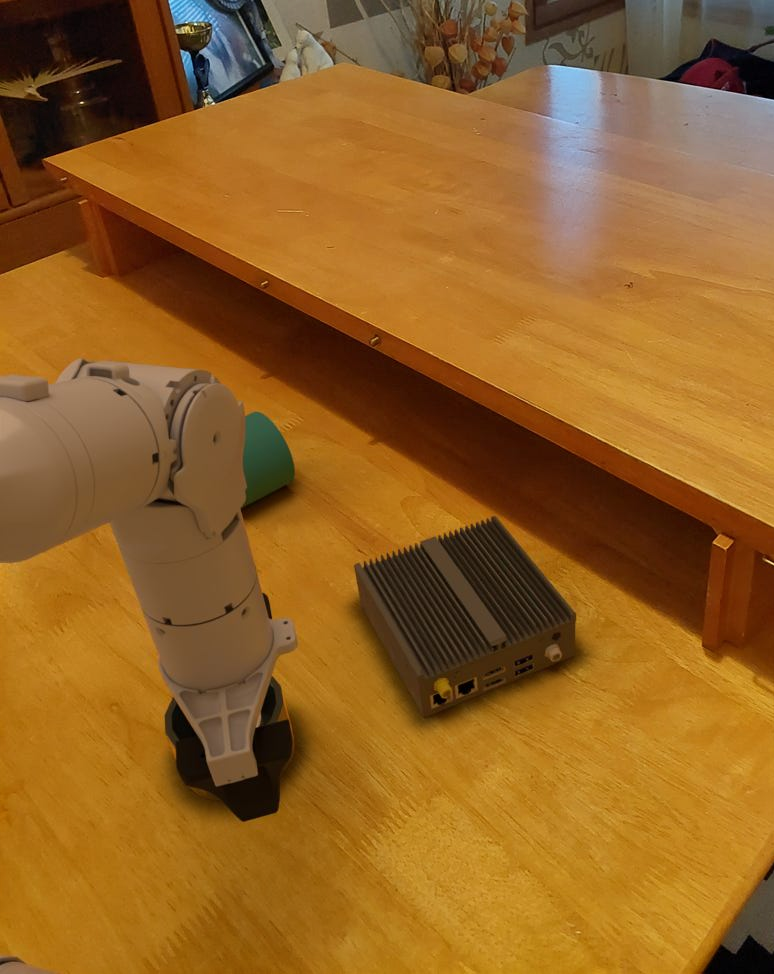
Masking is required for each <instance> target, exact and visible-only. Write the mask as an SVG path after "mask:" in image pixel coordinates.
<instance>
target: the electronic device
mask: <svg viewBox="0 0 774 974" xmlns="http://www.w3.org/2000/svg"><path fill="white" fill-rule="evenodd" d="M485 520H486V521H484V520H483V519H481V520H480V522H479V521H476V522H475V525H474V524H473V523H470V527H469V526H468V525H465V526H464V528H463V527H462V526H461V527H459V530H458V529H457V528H455V529H454V534H453V532H452V531H451V530H450V531H448V535H447V534H446V532H444V533H443V538H442V536H441V535H440V534H438V535H437V536H431V537H429V538H426V539H424V540H421V541H419V544H418V543H417V542H415V543H414V547H413V546H412V544H409V545H408V549H407V548H406V547H405V546H403V552H402V551H401V549H400V548H397V554H396V552H395V551H394V550H392V551H391V552H392V555H391V556H392V557H391V556H390V554H389V553H388V552H386V558H385V557H384V556H383V554H381V555H380V561H379V559H378V557H377V556H375V558H374V559H375V560H374V561H375V562H374V561H373V560H372V558H369V564H368V563H367V561H366V560H364V561H363V566H362V565H361V563H360V562H357V563H355V564H353V568H354V573H355V579H356V585H357V590H358V596H359V602H360V606H361V609H362V610H363V612H364V614H365V616H366V617H367V618H366V619H368V621H369V623H370V625H371V627H372V629H373V631H374V632H375V634H376V635H377V637H378V639H379V641H380V643H381V644H382V646H383V648H384V651H385V652H386V653H387V655H388V657H389V659H390V660H391V661H390V662H392V664H393V666H394V668H395V669H396V672H397V673H398V675H399V677H400V678H401V680H402V682H403V684H404V686H405V688H406V689H407V692H408V693H409V695H410V697H411V698H412V700H413V702H414V704H415V706H416V707H417V709H418V711H419V713H420V715H421V716H422V718H424V719H426V718H428V717H430V716H433V715H435V714H437V713H440V712H443V711H445V710H447V709H449V708H452V707H454V706H455V707H456V706H457V705H459V704H462V703H464V702H466V701H470V700H471V699H474V698H476V697H479V696H481V695H484V694H486V693H489V692H491V691H494V690H496V689H498V688H501V687H503V686H506V685H508V684H510V683H513V682H515V681H517V680H520V679H522V678H526V677H528V676H530V675H532V674H534V673H538V672H540V671H542V670H544V669H546V668H549V667H552V666H554V665H556V664H559V663H561V662H563V661H566V660H568V659H571V658H573V657H575V656H576V622H577V613H576V612H575V610H574V609H573V608H572V607H571V606H570V604H569V603H568V602H567V601H566V599H565V598H564V597H563V596H562V595H561V594H560V591H558V590H557V588H556V587H555V586H554V585H553V584H552V583H551V582H550V580H549V579H548V577H547V576H546V575H545V574H544V573H543V571H542V570H541V569H540V568H539V566H538V565H537V564H536V563H535V562H534V560H533V559H532V558H531V557H530V556H529V554H528V553H527V551H526V550H524V548H523V547H522V546H521V545H520V543H519V542H518V541H517V540H516V539H515V537H514V536H513V535H512V534H511V533H510V532H509V530H508V529H507V528H506V527H505V525H504V524H503V523H502V522H501V521H500V519H499V518H498V517H497V515H492V516H491V517H490V519H489V517H488V518H487V517H486V519H485Z"/></svg>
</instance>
